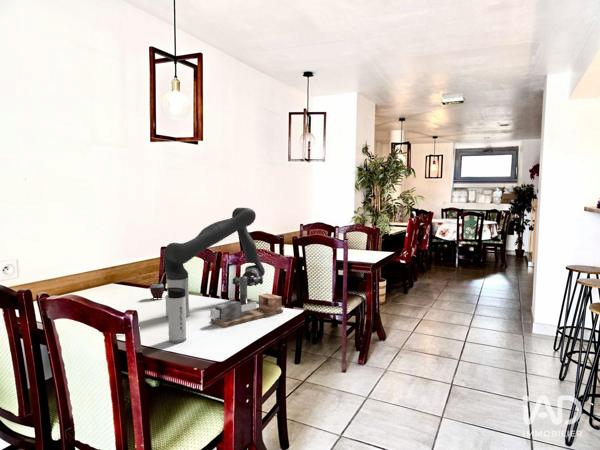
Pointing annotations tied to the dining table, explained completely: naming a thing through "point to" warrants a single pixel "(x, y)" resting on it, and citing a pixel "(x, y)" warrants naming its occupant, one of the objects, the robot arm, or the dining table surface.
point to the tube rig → (234, 316)
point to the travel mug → (177, 314)
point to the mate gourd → (157, 289)
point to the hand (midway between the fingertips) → (245, 283)
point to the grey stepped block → (243, 300)
